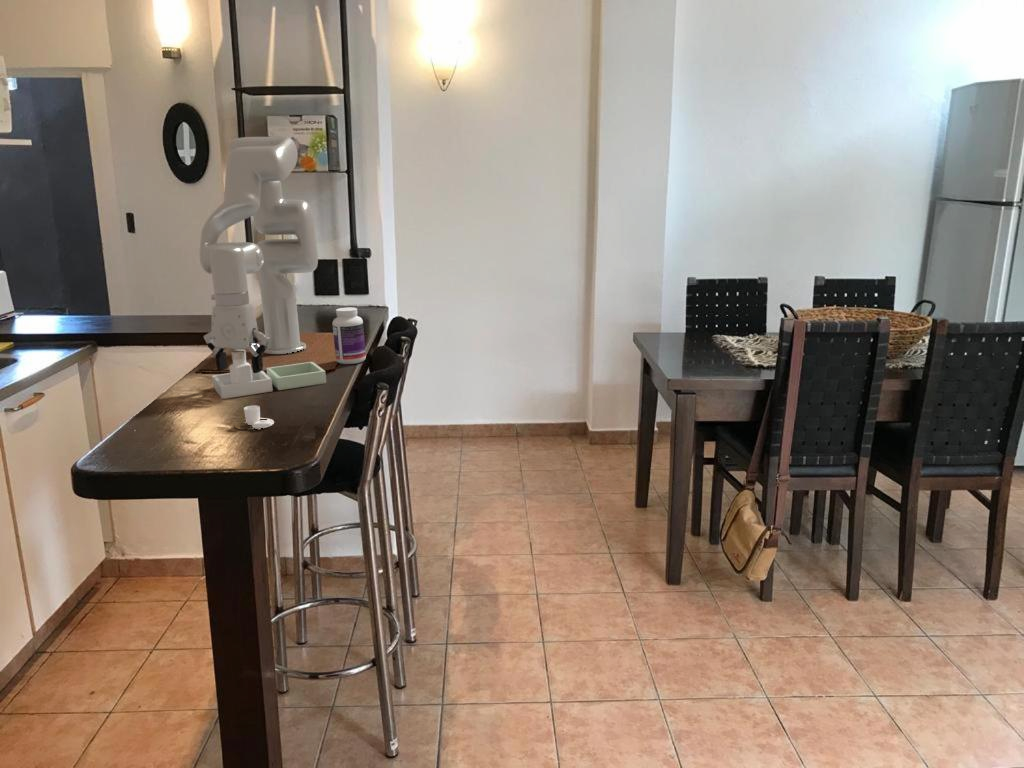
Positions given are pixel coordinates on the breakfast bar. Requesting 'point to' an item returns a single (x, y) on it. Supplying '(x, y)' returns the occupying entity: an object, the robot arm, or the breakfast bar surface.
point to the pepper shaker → (240, 367)
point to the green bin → (296, 375)
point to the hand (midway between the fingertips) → (240, 370)
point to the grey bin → (242, 385)
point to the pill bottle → (348, 336)
